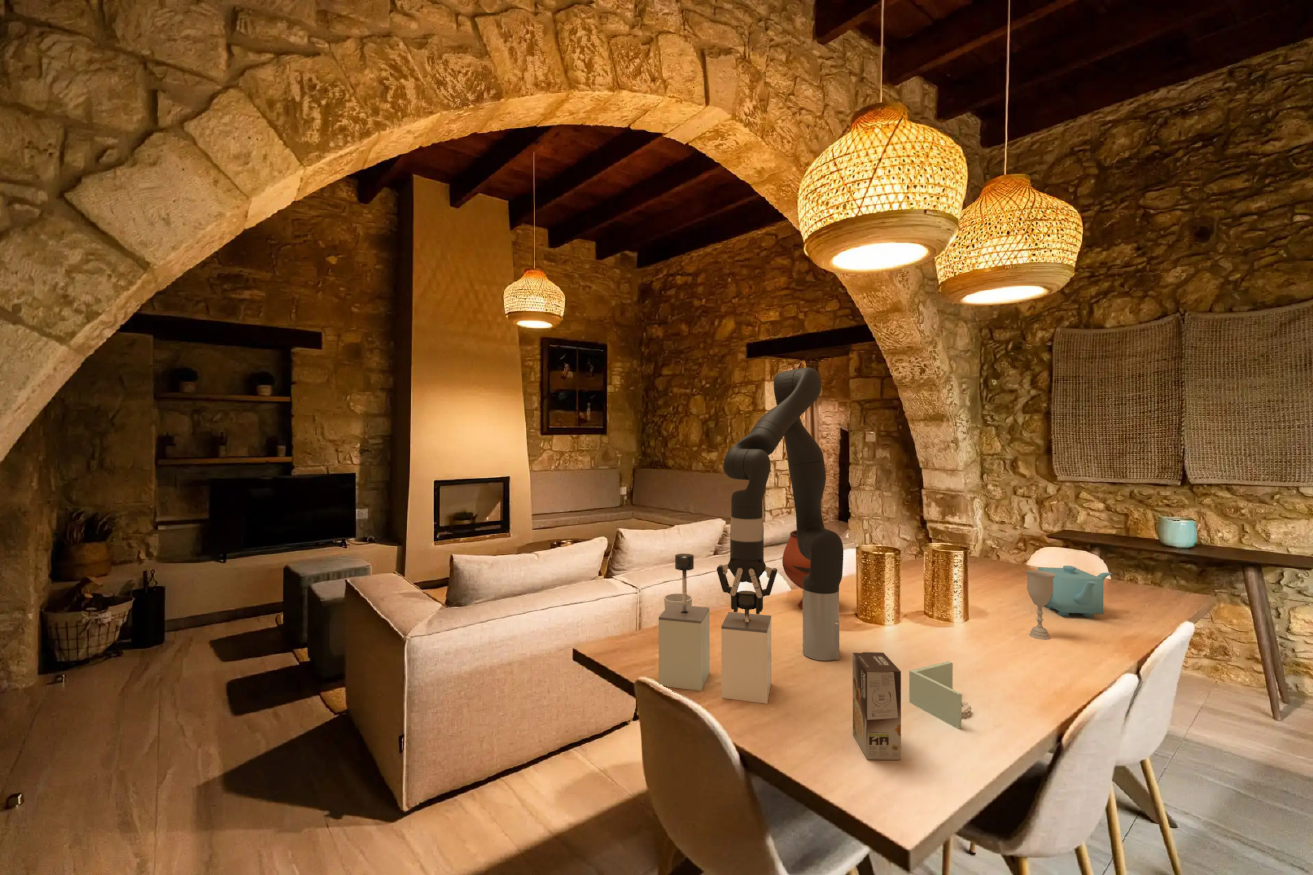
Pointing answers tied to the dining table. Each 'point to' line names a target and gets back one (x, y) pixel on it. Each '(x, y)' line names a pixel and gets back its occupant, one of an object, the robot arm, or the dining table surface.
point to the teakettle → (1076, 591)
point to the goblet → (795, 563)
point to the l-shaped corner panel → (938, 693)
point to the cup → (676, 599)
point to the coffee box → (877, 705)
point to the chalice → (1040, 597)
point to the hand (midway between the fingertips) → (746, 611)
